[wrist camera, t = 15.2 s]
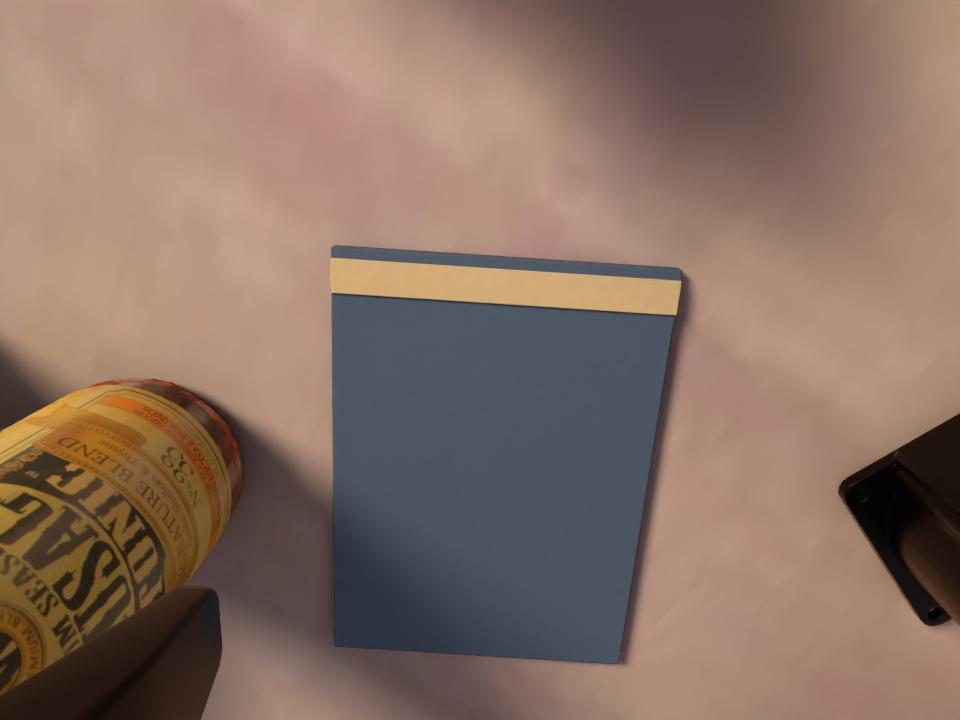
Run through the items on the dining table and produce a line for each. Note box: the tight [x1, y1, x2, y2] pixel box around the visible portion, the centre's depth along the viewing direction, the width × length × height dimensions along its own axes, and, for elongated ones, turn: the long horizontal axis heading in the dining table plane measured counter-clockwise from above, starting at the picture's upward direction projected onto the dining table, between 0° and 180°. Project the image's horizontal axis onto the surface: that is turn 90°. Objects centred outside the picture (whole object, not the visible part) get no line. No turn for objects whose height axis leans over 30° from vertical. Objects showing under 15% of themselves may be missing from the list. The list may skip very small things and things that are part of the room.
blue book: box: [330, 245, 682, 664], centre depth 21 cm, size 10×14×1 cm
